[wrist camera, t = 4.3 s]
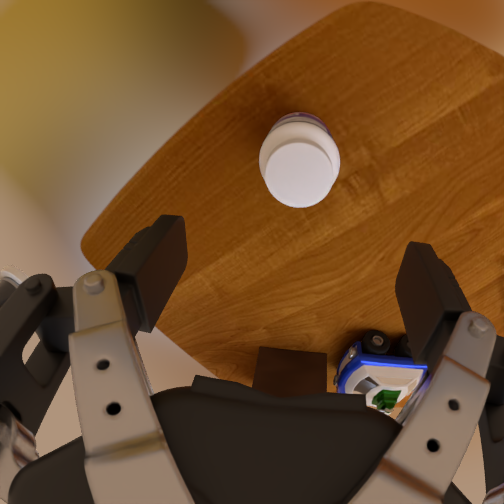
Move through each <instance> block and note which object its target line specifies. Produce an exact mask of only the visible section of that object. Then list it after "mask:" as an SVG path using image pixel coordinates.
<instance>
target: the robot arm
mask: <svg viewBox="0 0 504 504" xmlns="http://www.w3.org/2000/svg"><path fill="white" fill-rule="evenodd" d="M187 258H188V253H187V243H186V232H185V222H184V218H183V217H182V216H175V215H161V216H160V217H159V218H158V219H157V220H156V221H155V222H154V224H153V225H152V226H151V227H146V228H144V229H143V230H141V231H139V232H137V233H136V234H135V235H134V236H133V237H132V239H131V240H130V241H129V243H127V244H126V245H125V246H124V248H123V249H122V250H121V251H120V252H119V253H118V255H117V256H116V257H115V258H114V259H113V260H112V262H111V263H110V264H109V265H108V266H107V267H106V269H105V270H95V271H91V272H89V273H86V274H84V275H83V276H81V277H80V278H79V279H78V280H77V281H76V282H75V284H74V286H73V287H57V288H56V287H55V285H54V282H53V280H52V278H51V276H49V275H47V274H37V275H33V276H31V277H29V278H27V279H26V280H24V281H23V282H22V283H21V284H20V285H19V284H18V283H17V282H16V281H15V280H13V279H12V278H10V277H3V278H2V279H1V280H0V499H2V500H3V501H4V502H6V503H7V504H472V503H471V502H470V501H469V500H468V499H467V498H466V497H465V496H464V495H463V493H462V492H461V491H460V490H459V489H458V488H457V487H456V485H455V484H454V483H453V482H452V479H453V477H454V475H455V473H456V471H457V469H458V467H459V465H460V463H461V461H462V459H463V457H464V454H465V452H466V450H467V448H468V446H469V443H470V441H471V439H472V436H473V434H474V431H475V429H476V426H477V424H478V425H479V431H480V437H481V444H482V451H483V460H484V470H485V483H486V496H485V498H484V500H483V504H504V337H501V336H498V335H496V330H495V328H494V326H493V324H492V323H491V322H490V320H489V319H487V318H486V317H485V316H483V315H482V314H480V313H477V312H474V311H472V310H471V308H470V306H469V304H468V302H467V300H466V298H465V296H464V294H463V292H462V290H461V288H460V287H459V284H458V282H457V280H456V279H455V276H454V275H453V273H452V271H451V269H450V268H449V267H448V266H447V265H446V264H445V263H444V262H443V261H442V260H441V259H438V257H437V255H436V253H435V252H434V250H433V248H432V246H431V245H430V244H426V243H419V242H412V241H411V242H409V244H408V245H407V248H406V251H405V254H404V257H403V260H402V263H401V266H400V269H399V272H398V275H397V278H396V284H395V292H396V297H397V300H398V303H399V307H400V311H401V314H402V318H403V321H404V325H405V329H406V333H407V337H408V341H409V345H410V349H411V353H412V358H413V362H414V364H427V368H428V369H427V370H426V372H425V373H424V375H423V377H422V378H421V380H420V382H419V383H418V385H417V387H416V388H415V390H414V392H413V393H412V395H411V396H410V398H409V400H408V401H407V403H406V404H405V406H404V407H403V409H402V410H401V412H400V413H399V415H398V416H397V418H396V419H395V420H394V419H393V418H391V417H390V416H388V415H387V414H385V413H383V412H381V411H379V410H376V409H373V408H371V407H367V406H366V394H348V393H330V392H323V393H316V394H309V395H302V396H294V397H285V398H281V397H276V396H273V395H270V394H267V393H264V392H262V391H259V390H256V389H253V388H251V387H248V386H246V385H243V384H240V383H238V382H233V381H227V380H221V379H216V378H210V377H205V376H200V375H195V377H194V380H193V383H192V386H185V387H176V388H172V389H167V390H164V391H161V392H158V393H156V394H154V392H153V389H152V387H151V384H150V381H149V378H148V376H147V373H146V370H145V367H144V364H143V361H142V358H141V355H140V352H139V349H138V345H137V342H136V339H135V336H136V334H137V332H138V330H139V331H143V332H148V333H151V332H152V330H153V328H154V326H155V324H156V322H157V320H158V318H159V316H160V315H161V313H162V311H163V309H164V307H165V305H166V303H167V302H168V300H169V298H170V296H171V294H172V292H173V290H174V289H175V287H176V285H177V283H178V281H179V280H180V278H181V276H182V274H183V272H184V270H185V268H186V265H187ZM34 332H36V333H37V335H38V337H39V339H40V342H39V343H38V345H37V346H36V348H35V349H34V351H33V353H32V354H31V356H30V357H29V359H28V361H27V362H26V364H25V365H24V363H23V360H22V352H23V348H24V347H25V345H26V344H27V342H28V340H29V339H30V338H31V336H32V335H33V333H34ZM70 365H71V371H72V379H73V386H74V392H75V400H76V405H77V411H78V417H79V422H80V427H81V432H82V436H80V437H78V438H76V439H75V440H72V441H71V442H69V443H67V444H65V445H63V446H61V447H59V448H57V449H55V450H54V451H52V452H50V453H48V454H46V455H44V456H42V457H40V458H39V454H38V452H37V451H36V440H35V435H36V433H37V431H38V429H39V427H40V425H41V422H42V420H43V418H44V416H45V414H46V412H47V410H48V408H49V406H50V404H51V402H52V400H53V398H54V396H55V394H56V392H57V390H58V388H59V386H60V384H61V382H62V380H63V378H64V377H65V375H66V373H67V371H68V369H69V367H70Z"/></svg>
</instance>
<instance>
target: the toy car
mask: <svg viewBox="0 0 504 504" xmlns="http://www.w3.org/2000/svg"><path fill="white" fill-rule="evenodd" d="M389 348H390V341H389V339H388V337H387V336H386V335H385V334H384V333H382V332H380V331H375V330H372V331H368V332H367V333H366V334H365V336H364V338H363V340H362V342H361V341H356V342H355V343H354V344H353V345H352V346H351V347H350V348H349V349H348V350H347V351H346V352H345V354H344V355H343V357H342V358H341V360H340V362H339V365H338V367H337V373H336V375H335V377H334V381H333V384H334V385H336V388H337V393H348V394H366V405H368V406H374V407H377V409H376V410H379V411H381V412H383V413H385V414H387V415H389V414H391V413H392V411H393V408H394V405H395V404H396V403H398V402H399V401H400V400H402V399H403V398H404V397H406V396H407V395H409V394H410V393H411V392H412V391H414V390H415V388H416V387H417V385H418V383H419V382H420V380H421V378H422V377H423V375H424V373H425V372H426V370H427V369H428V368H427V364H414V362H413V358H412V353H411V349H410V345H409V341H408V337H407V335H405V336H403V337H402V339H401V340H400V342H399V343H398V345H397V347H396V348H395V351H394V355H385V354H386V352H387V351H388V349H389Z"/></svg>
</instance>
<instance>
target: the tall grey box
mask: <svg viewBox="0 0 504 504" xmlns="http://www.w3.org/2000/svg"><path fill="white" fill-rule="evenodd" d="M252 388H253V389H256V390H259V391H262V392H264V393H267V394H270V395H273V396H276V397H281V398H285V397H294V396H302V395H309V394H316V393H323V392H327V354H324V353H313V352H302V351H292V350H283V349H275V348H266V347H260V348H259V353H258V358H257V364H256V369H255V374H254V379H253V384H252Z"/></svg>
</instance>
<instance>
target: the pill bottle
mask: <svg viewBox="0 0 504 504" xmlns="http://www.w3.org/2000/svg"><path fill="white" fill-rule="evenodd" d="M259 166H260V171H261V174H262V176H263V178H264V180H265V182H266V185H267V187H268V189H269V191H270V192H271V194H272V195H273V196H274V197H275V198H276V199H277V200H278V201H280V202H281V203H283V204H285V205H288V206H291V207H308V206H312V205H314V204H316V203H318V202H319V201H321V200H322V199H323V198H324V197H325V196H326V195H327V194H328V192H329V191H330V189H331V187H332V185H333V183H334V182H335V180H336V178H337V176H338V173H339V168H340V156H339V151H338V148H337V146H336V144H335V142H334V140H333V138H332V136H331V134H330V131H329V130H328V128H327V126H326V125H325V124H324V123H323V122H322V121H321V120H320V119H319V118H317V117H316V116H314V115H311V114H308V113H304V112H295V113H290V114H288V115H285V116H283V117H282V118H280V119H279V120H278V121H277V122H276V123H275V124H274V126H273V127H272V129H271V130H270V132H269V134H268V135H267V137H266V138H265V140H264V142H263V144H262V147H261V150H260V155H259Z"/></svg>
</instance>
